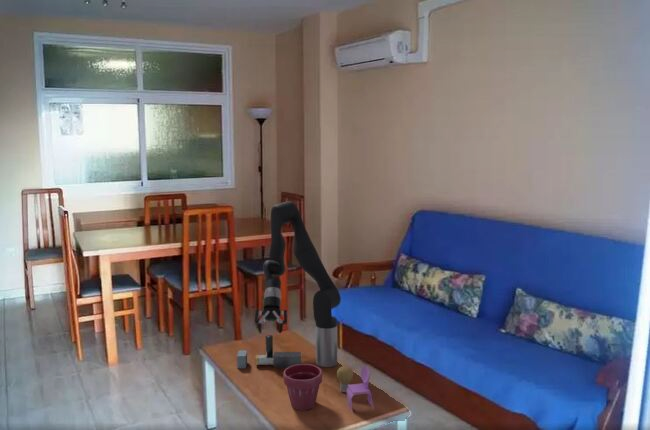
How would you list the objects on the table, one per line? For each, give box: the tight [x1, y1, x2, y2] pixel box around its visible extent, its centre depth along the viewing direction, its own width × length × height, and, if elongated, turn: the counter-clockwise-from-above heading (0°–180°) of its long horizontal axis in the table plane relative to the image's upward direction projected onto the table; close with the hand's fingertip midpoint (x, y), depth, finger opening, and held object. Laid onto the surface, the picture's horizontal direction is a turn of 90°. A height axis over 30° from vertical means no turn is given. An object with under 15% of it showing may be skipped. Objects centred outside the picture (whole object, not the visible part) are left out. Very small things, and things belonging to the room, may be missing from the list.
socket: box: [236, 349, 248, 369], centre depth 238 cm, size 4×6×6 cm, turn 0°
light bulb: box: [336, 365, 354, 393], centre depth 214 cm, size 6×6×10 cm
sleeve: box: [273, 351, 302, 369], centre depth 238 cm, size 12×5×5 cm, turn 90°
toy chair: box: [346, 365, 375, 412], centre depth 202 cm, size 8×9×15 cm
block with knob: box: [254, 334, 274, 366], centre depth 237 cm, size 18×3×12 cm, turn 90°
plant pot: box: [283, 363, 323, 411], centre depth 204 cm, size 14×14×13 cm
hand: (270, 332), depth 241 cm, fingers open, 8 cm apart
